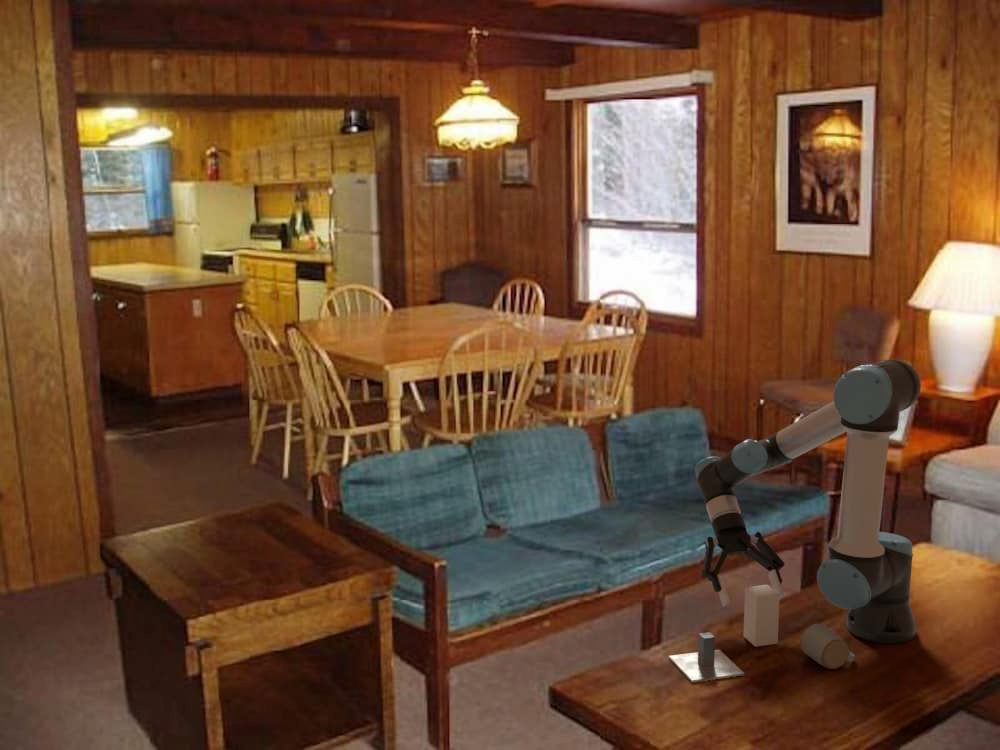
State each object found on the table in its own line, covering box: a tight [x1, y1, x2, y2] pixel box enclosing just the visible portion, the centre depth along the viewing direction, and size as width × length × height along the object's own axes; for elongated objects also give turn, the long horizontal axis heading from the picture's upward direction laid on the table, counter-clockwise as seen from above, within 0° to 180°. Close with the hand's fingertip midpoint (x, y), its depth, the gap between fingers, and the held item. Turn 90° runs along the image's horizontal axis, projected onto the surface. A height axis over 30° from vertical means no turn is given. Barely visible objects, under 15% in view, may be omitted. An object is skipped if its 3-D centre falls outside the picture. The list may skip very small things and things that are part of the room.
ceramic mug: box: [800, 623, 856, 670], centre depth 230 cm, size 11×8×8 cm
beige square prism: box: [743, 584, 780, 647], centre depth 241 cm, size 6×6×12 cm
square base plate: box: [668, 632, 745, 684], centre depth 228 cm, size 12×12×7 cm
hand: (753, 601), depth 242 cm, fingers open, 13 cm apart
